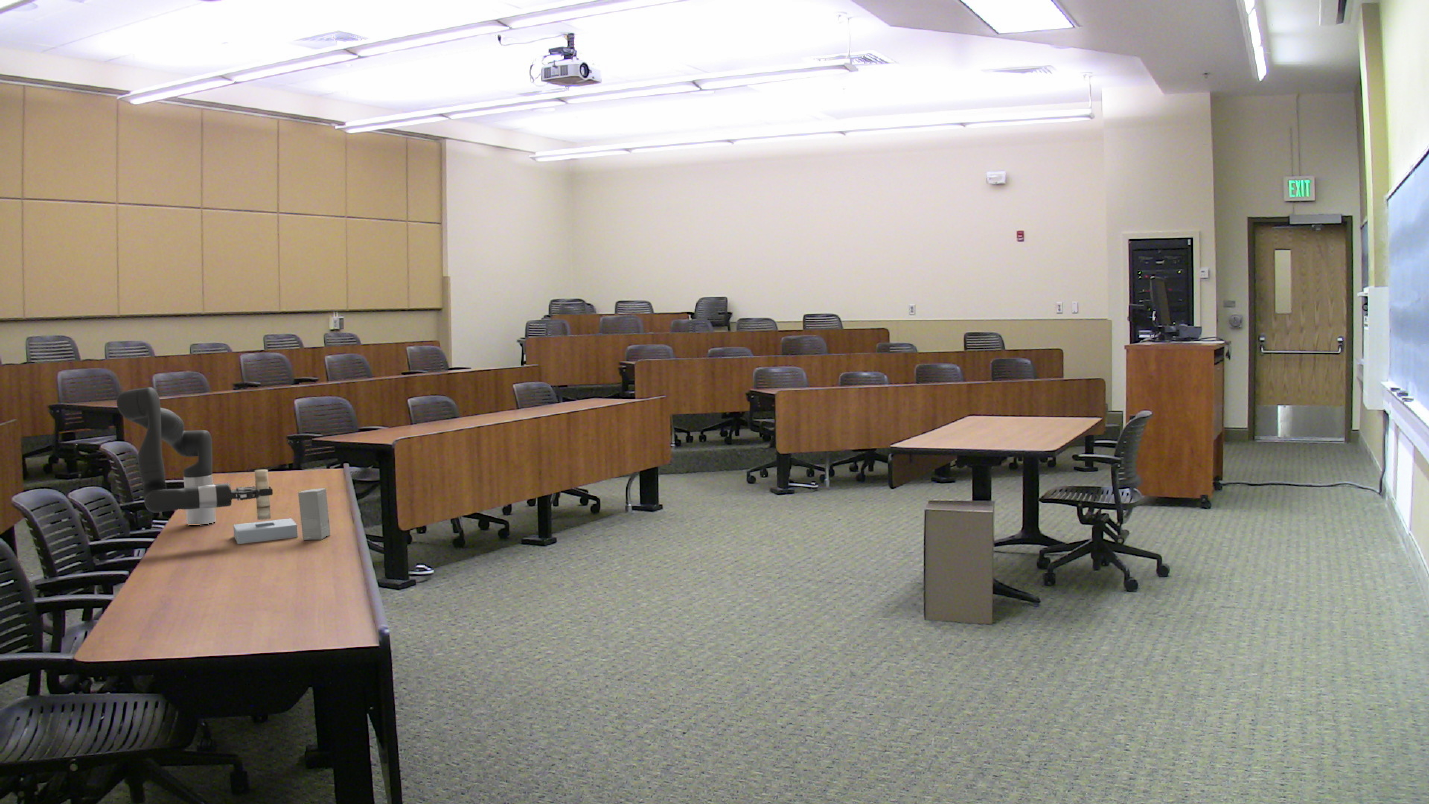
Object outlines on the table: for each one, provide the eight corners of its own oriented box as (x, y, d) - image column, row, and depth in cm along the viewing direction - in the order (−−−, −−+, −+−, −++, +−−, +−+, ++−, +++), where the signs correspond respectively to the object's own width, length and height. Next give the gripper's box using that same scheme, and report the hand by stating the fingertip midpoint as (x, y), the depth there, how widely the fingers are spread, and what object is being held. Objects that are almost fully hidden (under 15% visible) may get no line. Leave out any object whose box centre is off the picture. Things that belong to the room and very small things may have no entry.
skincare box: (321, 540, 347) (318, 491, 345) (299, 540, 347) (296, 492, 345) (331, 534, 355) (328, 487, 354) (310, 535, 355) (307, 487, 354)
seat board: (234, 536, 357) (233, 524, 356) (291, 529, 365) (291, 518, 365) (237, 544, 344) (237, 531, 344) (297, 536, 353) (296, 524, 353)
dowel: (256, 518, 355) (253, 470, 354) (270, 517, 357) (267, 469, 356) (258, 520, 351) (255, 471, 350) (271, 518, 353) (268, 470, 352)
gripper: (215, 487, 340) (273, 481, 348) (212, 481, 353) (268, 476, 361) (216, 510, 341) (274, 504, 349) (213, 504, 353) (269, 499, 361)
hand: (271, 490), depth 355 cm, fingers closed on dowel, 4 cm apart
